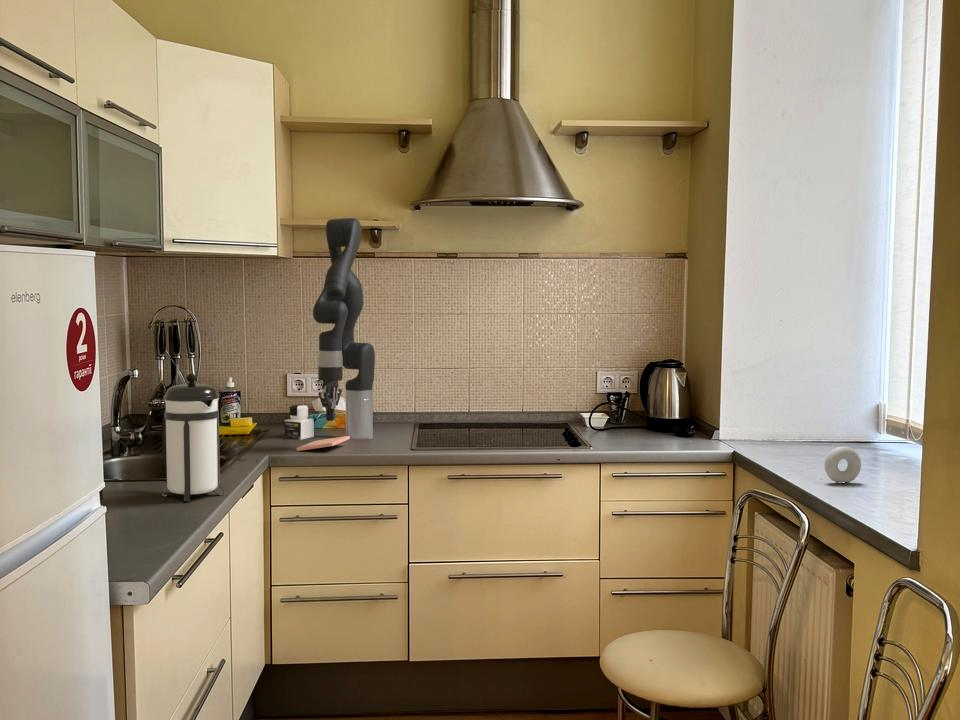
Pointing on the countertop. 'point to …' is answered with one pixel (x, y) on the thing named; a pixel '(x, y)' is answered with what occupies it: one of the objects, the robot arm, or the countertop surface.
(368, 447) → the countertop surface
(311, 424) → the medicine bottle
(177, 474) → the coffee press
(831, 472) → the donut
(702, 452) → the countertop surface
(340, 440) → the book
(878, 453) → the countertop surface
